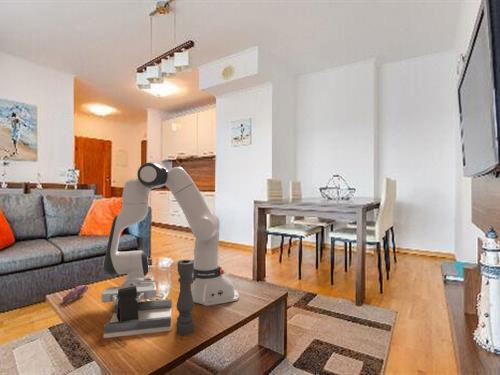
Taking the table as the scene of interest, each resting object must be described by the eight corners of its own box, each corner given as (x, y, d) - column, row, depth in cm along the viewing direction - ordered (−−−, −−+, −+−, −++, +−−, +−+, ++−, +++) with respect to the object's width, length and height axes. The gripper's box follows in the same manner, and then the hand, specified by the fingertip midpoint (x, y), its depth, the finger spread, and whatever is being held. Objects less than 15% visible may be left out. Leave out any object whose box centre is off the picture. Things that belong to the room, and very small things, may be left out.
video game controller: (68, 306, 123) (75, 293, 122) (60, 301, 124) (66, 287, 123) (85, 297, 133) (91, 285, 132) (78, 292, 133) (84, 280, 133)
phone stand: (138, 322, 105) (138, 290, 105) (121, 326, 102) (121, 293, 102) (132, 312, 113) (133, 282, 112) (116, 316, 109) (116, 285, 109)
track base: (171, 307, 120) (171, 305, 120) (170, 330, 102) (170, 327, 102) (115, 312, 115) (115, 310, 115) (103, 338, 97) (103, 335, 97)
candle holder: (177, 337, 98) (178, 265, 97) (174, 328, 103) (175, 260, 103) (195, 333, 100) (196, 263, 100) (191, 325, 106) (192, 258, 105)
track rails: (171, 306, 119) (171, 299, 119) (170, 326, 103) (170, 318, 103) (114, 311, 114) (114, 304, 114) (104, 333, 98) (104, 324, 97)
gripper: (105, 282, 117) (96, 295, 104) (157, 278, 122) (155, 290, 109) (105, 297, 117) (96, 312, 104) (157, 293, 122) (155, 307, 109)
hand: (127, 301), depth 106 cm, fingers closed on phone stand, 6 cm apart
